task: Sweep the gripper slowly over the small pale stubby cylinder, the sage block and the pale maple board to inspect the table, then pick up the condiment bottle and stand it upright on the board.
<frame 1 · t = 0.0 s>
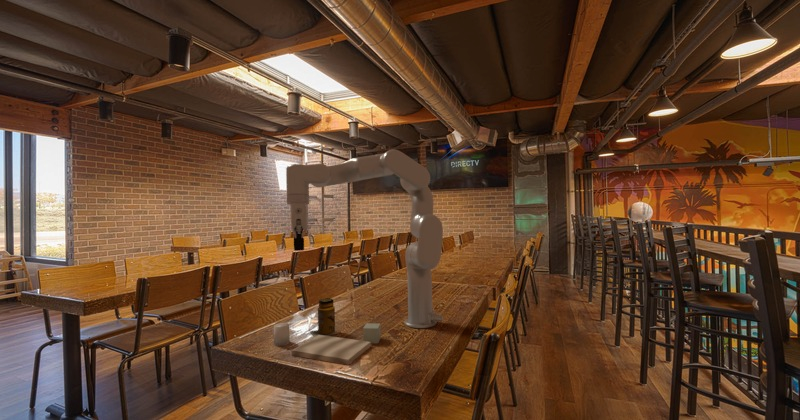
hand: (298, 249, 116), 31 cm above the table, tool pointing down, fingers open, 9 cm apart
sage block: (372, 340, 113), on the table
pale stubby cylinder: (281, 343, 112), on the table
maple board: (332, 350, 105), on the table
condiment: (324, 333, 121), on the table
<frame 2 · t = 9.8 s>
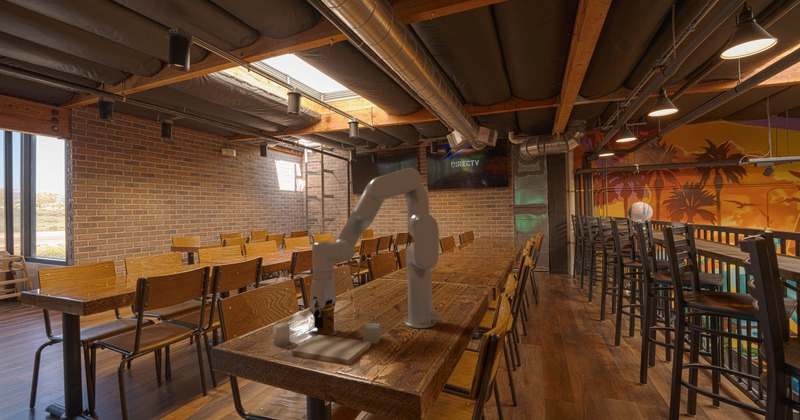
hand: (324, 324, 122), 3 cm above the table, tool pointing down, fingers closed on condiment, 6 cm apart
condiment: (323, 333, 121), on the table, touching gripper
everything else where it was.
when the fingers open (6 cm above the table, at t = 15.4 s): condiment drops 2 cm, resting on maple board.
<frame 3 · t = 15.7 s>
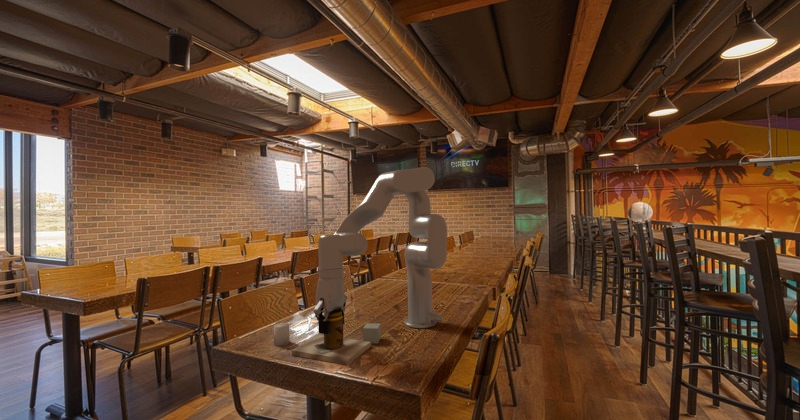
hand: (331, 328, 105), 7 cm above the table, tool pointing down, fingers open, 8 cm apart
condiment: (330, 347, 104), point 1 cm above the table, touching maple board
everything else where it was.
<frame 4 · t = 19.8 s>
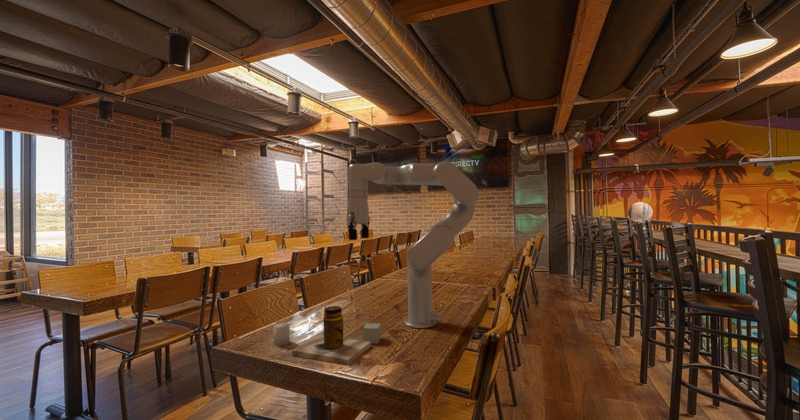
hand: (359, 238, 131), 33 cm above the table, tool pointing down, fingers open, 9 cm apart
nothing on the table moved.
at the end: condiment inside the target area on the maple board (0.7 cm from its centre), point 1.3 cm above the maple board's base; condiment tilted 0°; the gripper is holding nothing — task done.
